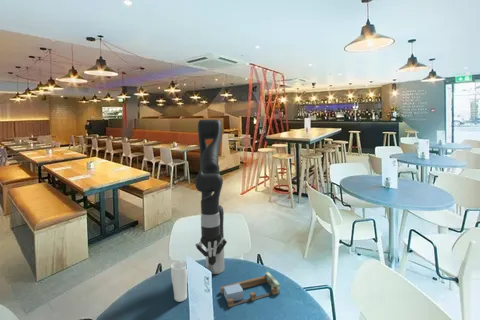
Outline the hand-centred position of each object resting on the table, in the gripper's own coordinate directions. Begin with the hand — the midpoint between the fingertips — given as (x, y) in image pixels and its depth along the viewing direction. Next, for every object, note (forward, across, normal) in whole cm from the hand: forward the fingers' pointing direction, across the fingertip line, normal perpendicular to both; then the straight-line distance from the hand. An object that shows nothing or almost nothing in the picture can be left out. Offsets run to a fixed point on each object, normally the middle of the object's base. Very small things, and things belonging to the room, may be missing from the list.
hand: (211, 264), depth 107 cm
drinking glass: (+17, +12, -8) cm, 22 cm away
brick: (+17, -9, 0) cm, 19 cm away
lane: (+17, -16, 0) cm, 23 cm away
